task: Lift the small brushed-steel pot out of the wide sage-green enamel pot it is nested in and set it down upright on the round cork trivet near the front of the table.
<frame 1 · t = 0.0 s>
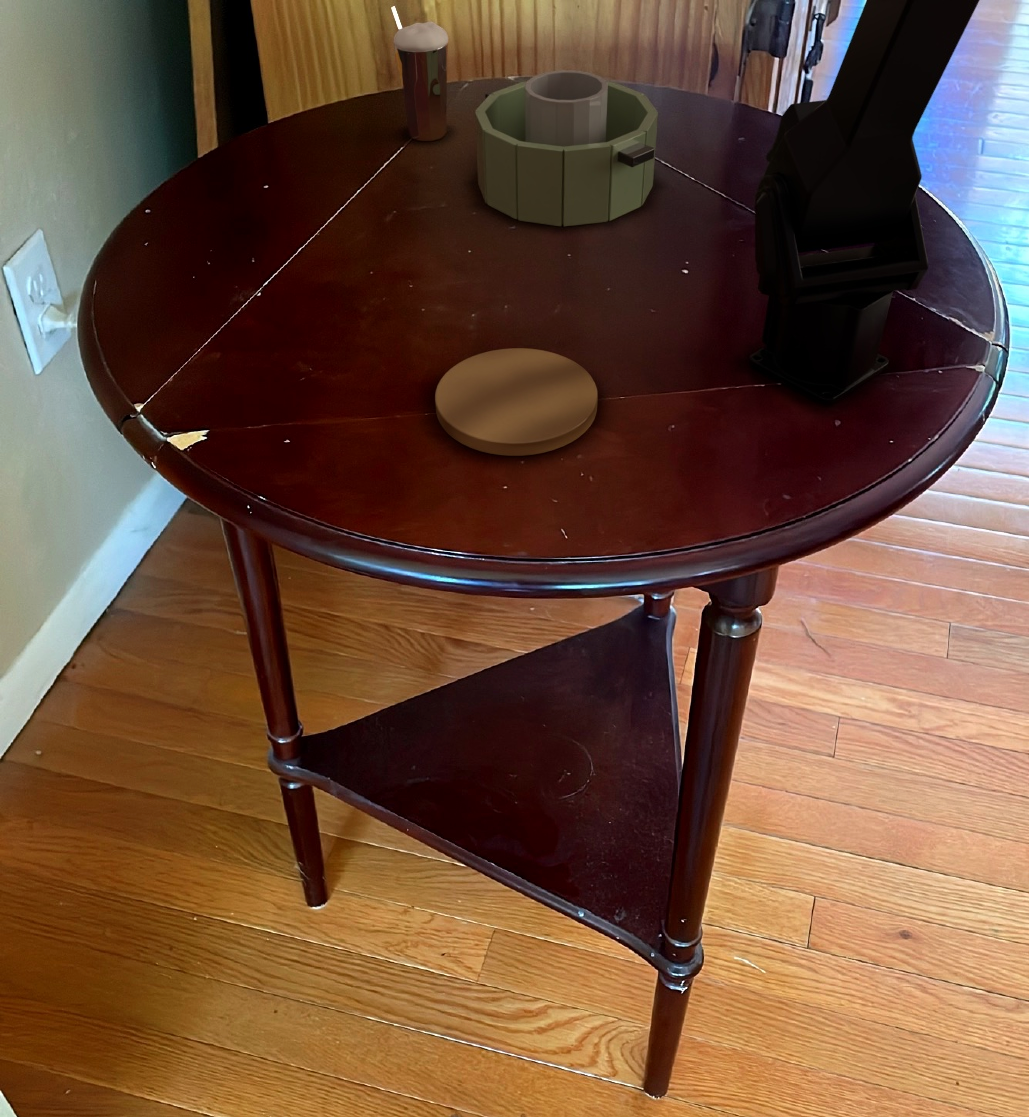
milkshake: (424, 134, 99), on the table
trivet: (516, 406, 70), on the table
small pot: (565, 136, 89), in the big pot
big pot: (565, 184, 91), on the table
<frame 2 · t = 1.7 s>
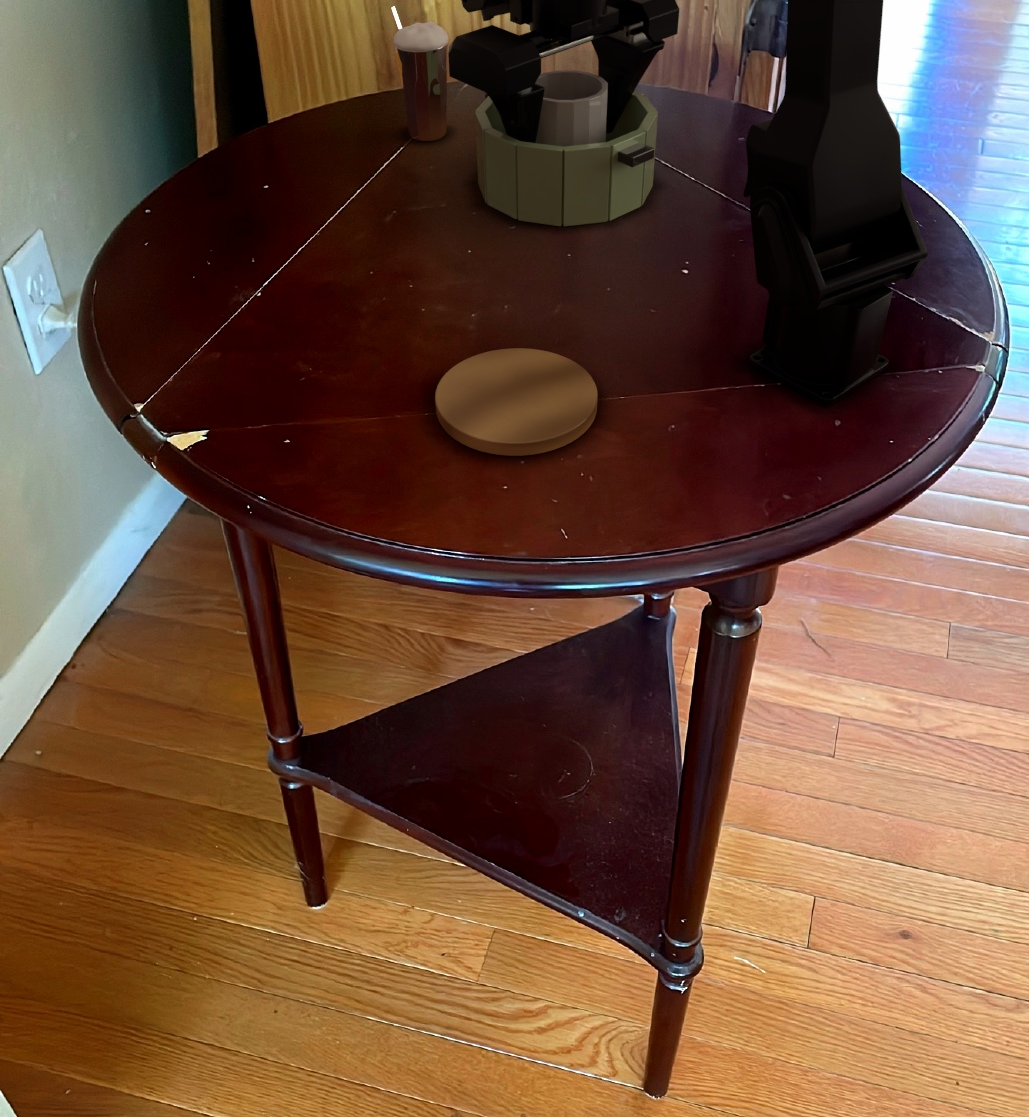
hand: (565, 147, 89), 3 cm above the table, tool pointing down
nothing on the table moved.
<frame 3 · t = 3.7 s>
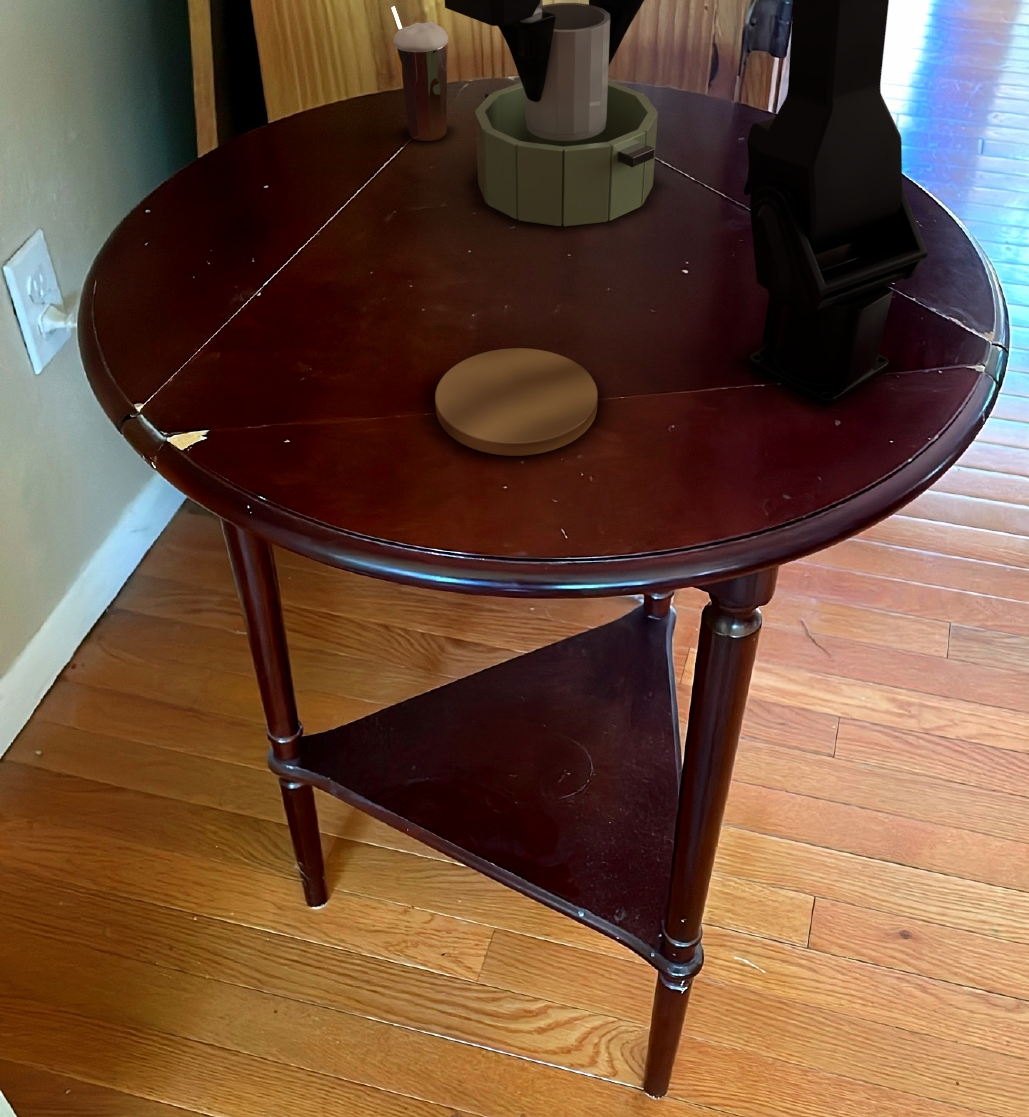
hand: (566, 88, 86), 8 cm above the table, tool pointing down, fingers closed on small pot, 6 cm apart
small pot: (566, 72, 85), point 9 cm above the table, touching gripper
everything else where it was.
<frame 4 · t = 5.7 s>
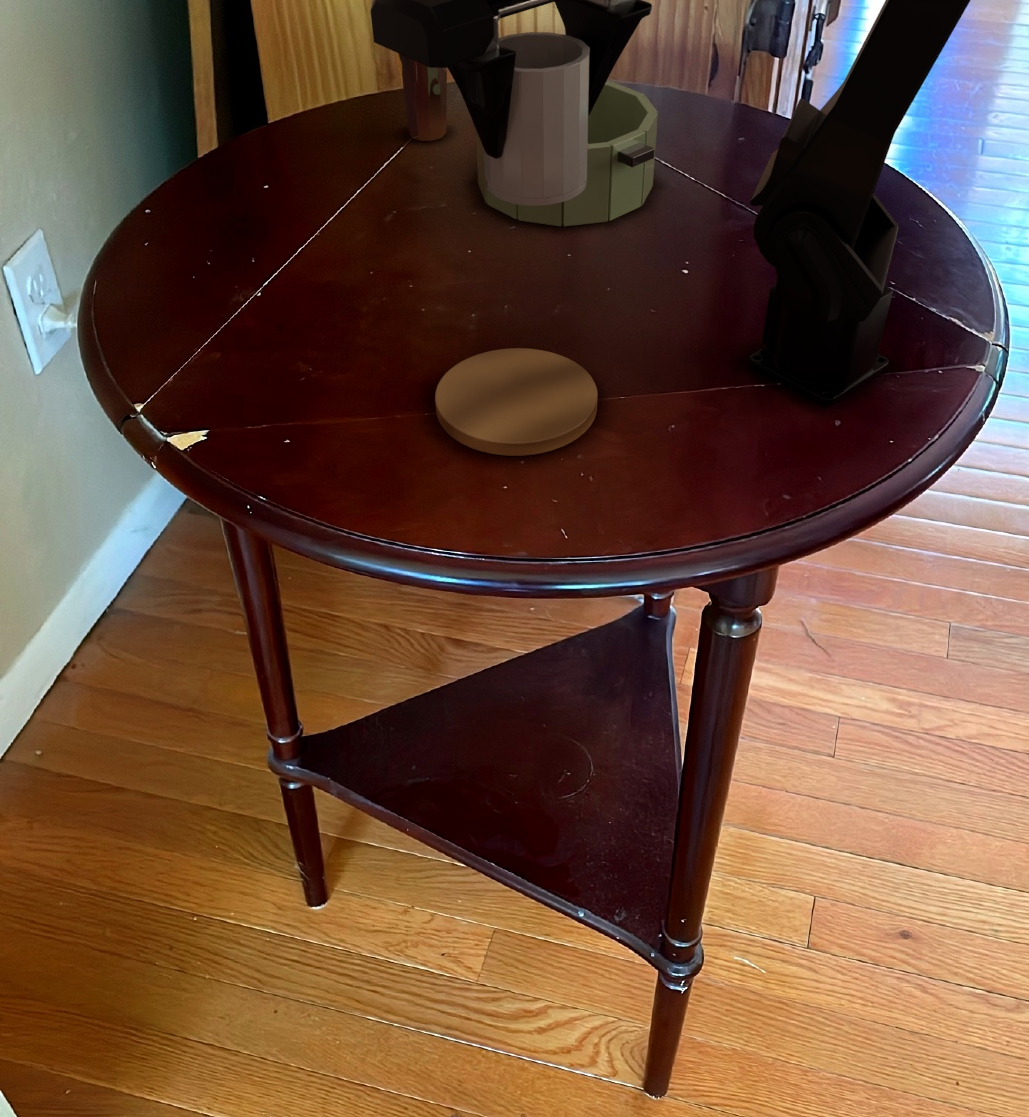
hand: (536, 140, 68), 12 cm above the table, tool pointing down, fingers closed on small pot, 6 cm apart
small pot: (535, 119, 68), point 14 cm above the table, touching gripper
everything else where it was.
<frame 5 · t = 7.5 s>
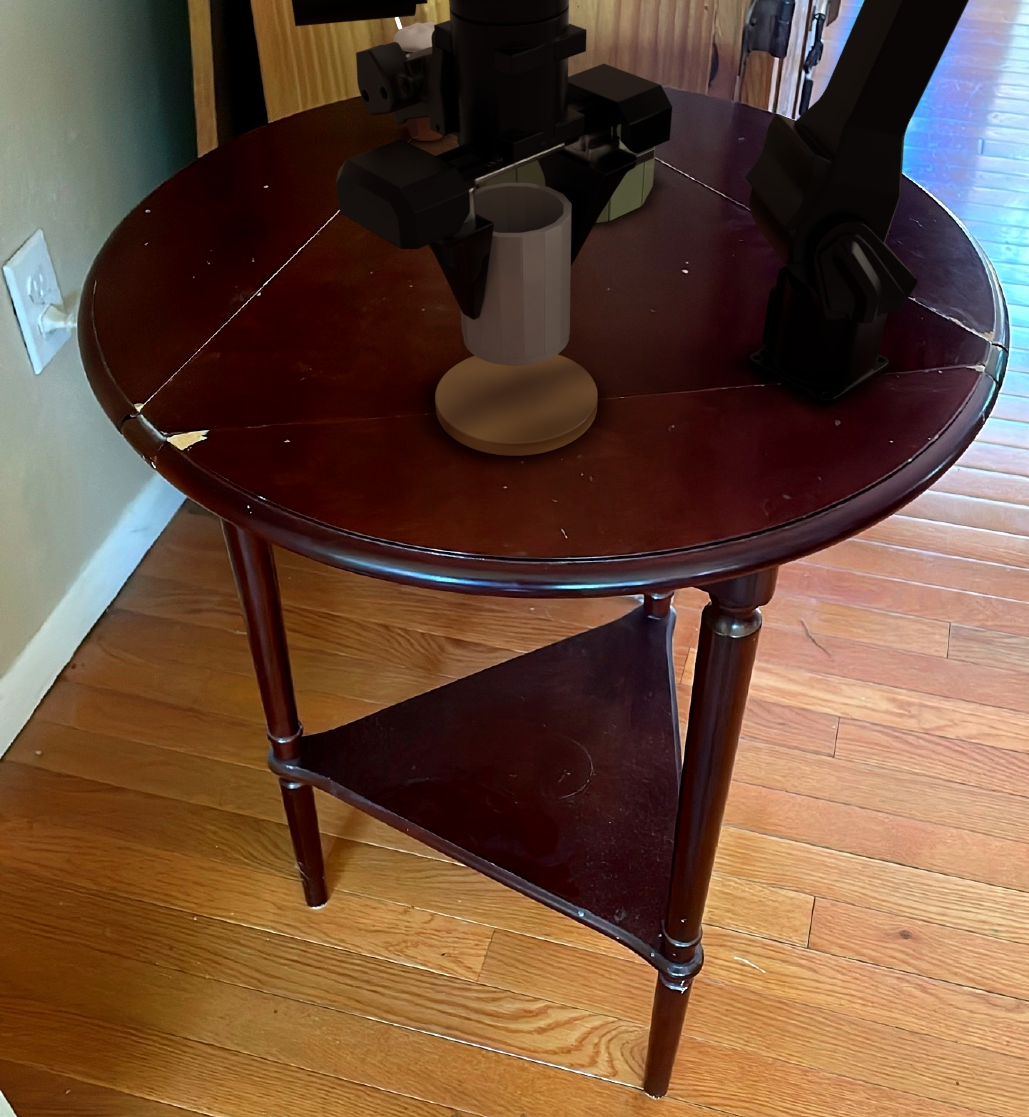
hand: (515, 294, 64), 8 cm above the table, tool pointing down, fingers closed on small pot, 6 cm apart
small pot: (514, 274, 63), point 9 cm above the table, touching gripper
everything else where it was.
when the fingers open (4 cm above the table, at t = 9.1 s): small pot stays where it is, resting on trivet.
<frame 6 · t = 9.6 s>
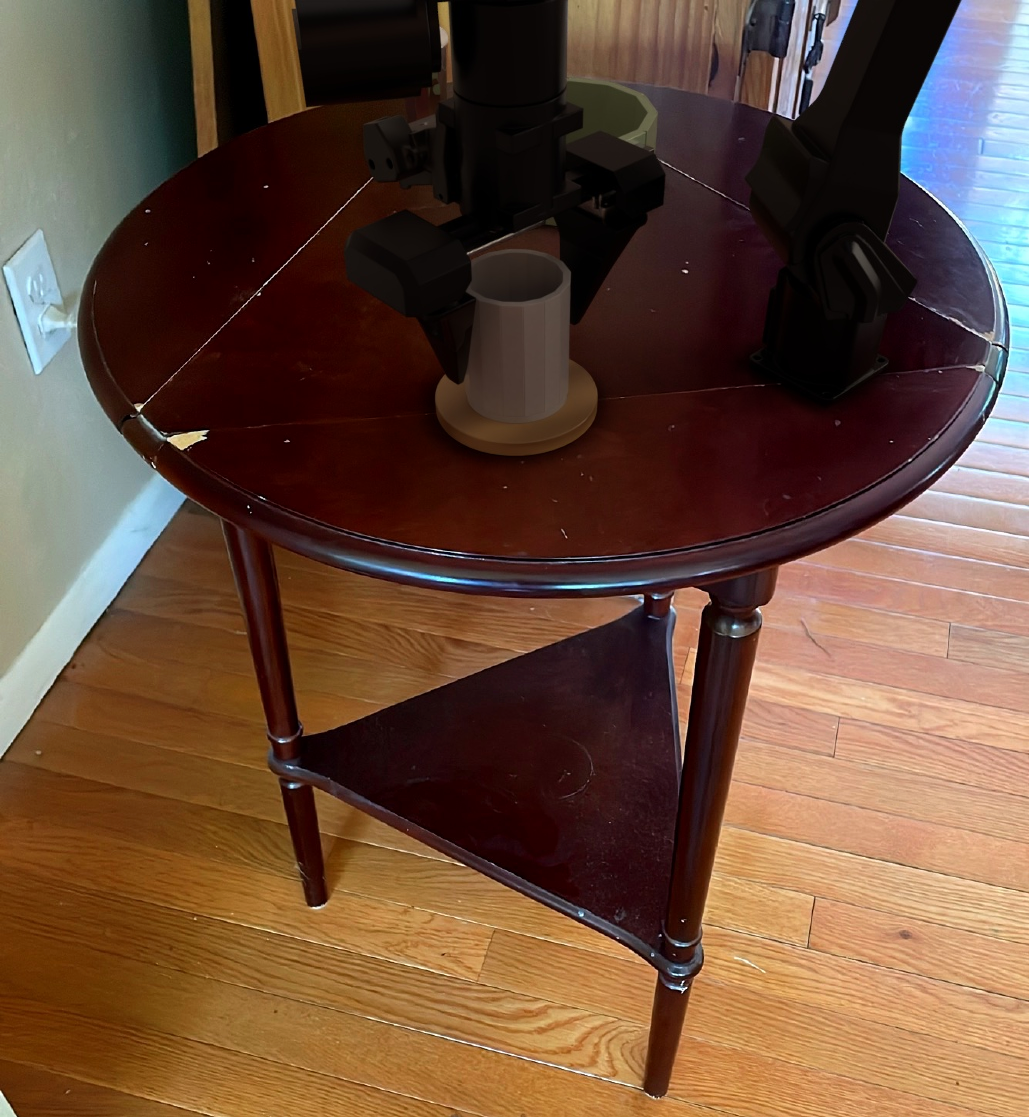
hand: (515, 350, 67), 4 cm above the table, tool pointing down, fingers open, 9 cm apart
small pot: (516, 336, 66), on the trivet, point 5 cm above the table
everything else where it was.
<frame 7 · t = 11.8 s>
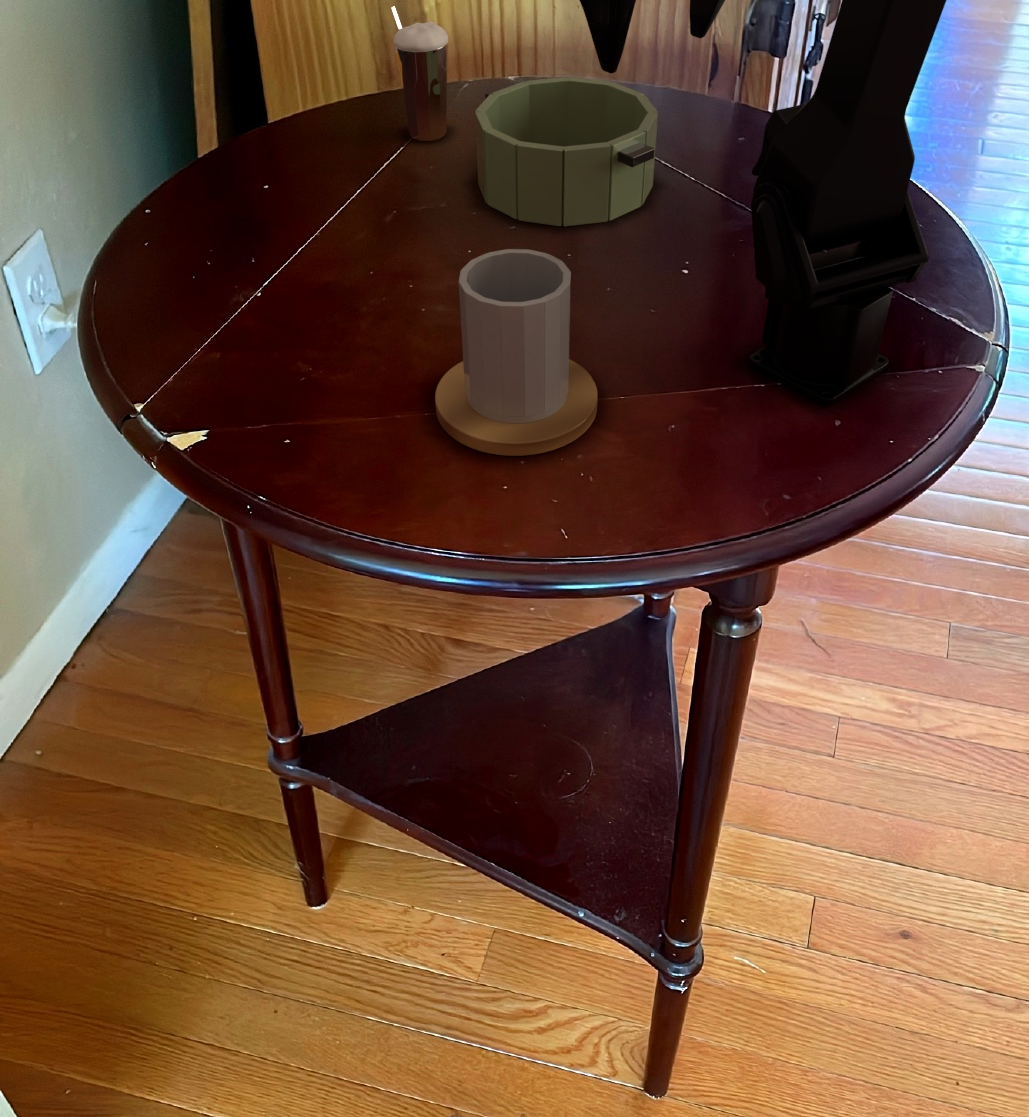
hand: (654, 53, 79), 12 cm above the table, tool pointing down, fingers open, 9 cm apart
nothing on the table moved.
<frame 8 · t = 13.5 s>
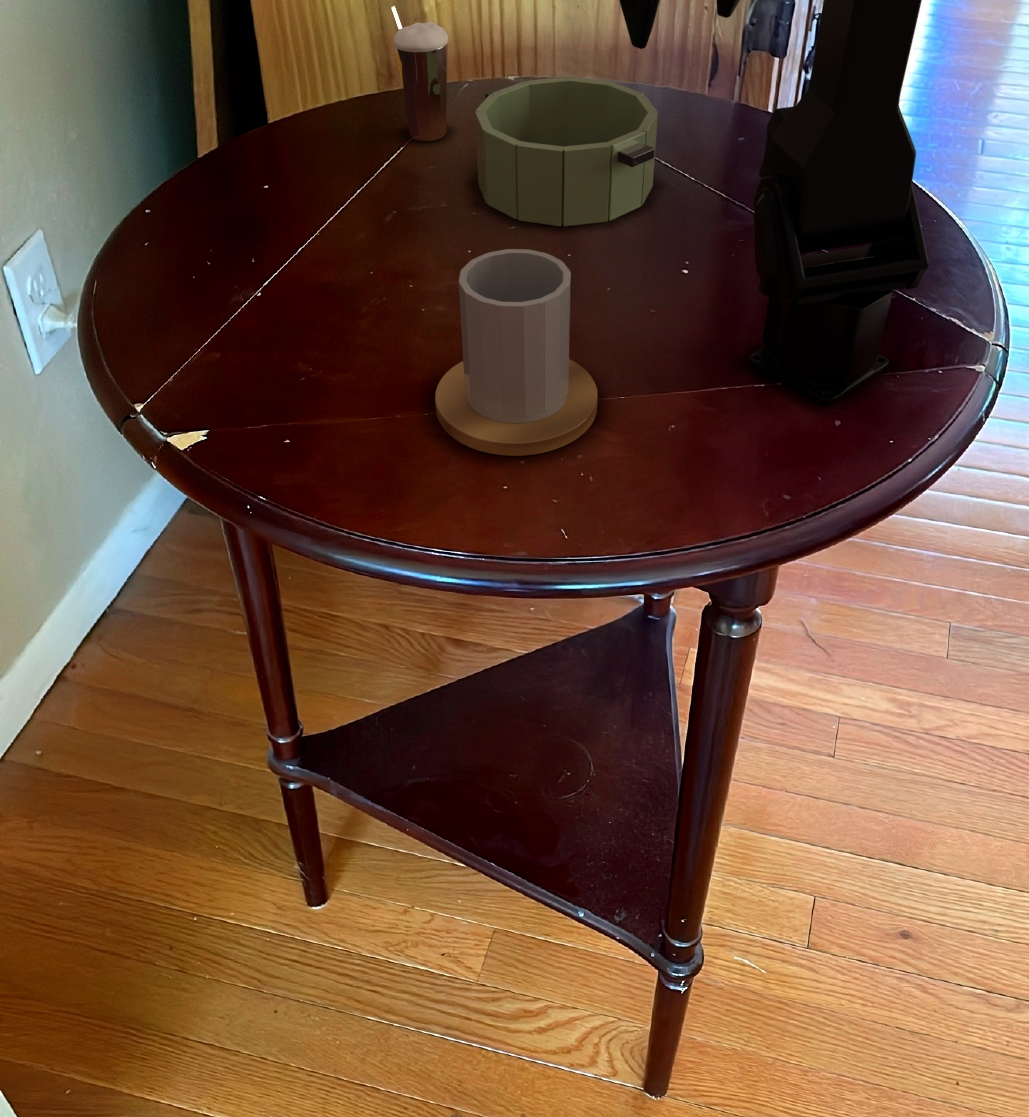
hand: (682, 31, 83), 12 cm above the table, tool pointing down, fingers open, 9 cm apart
nothing on the table moved.
at the end: small pot 0.0 cm off-centre on the trivet, point 5.0 cm above the trivet's base; small pot tilted 0°; small pot touching trivet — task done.
